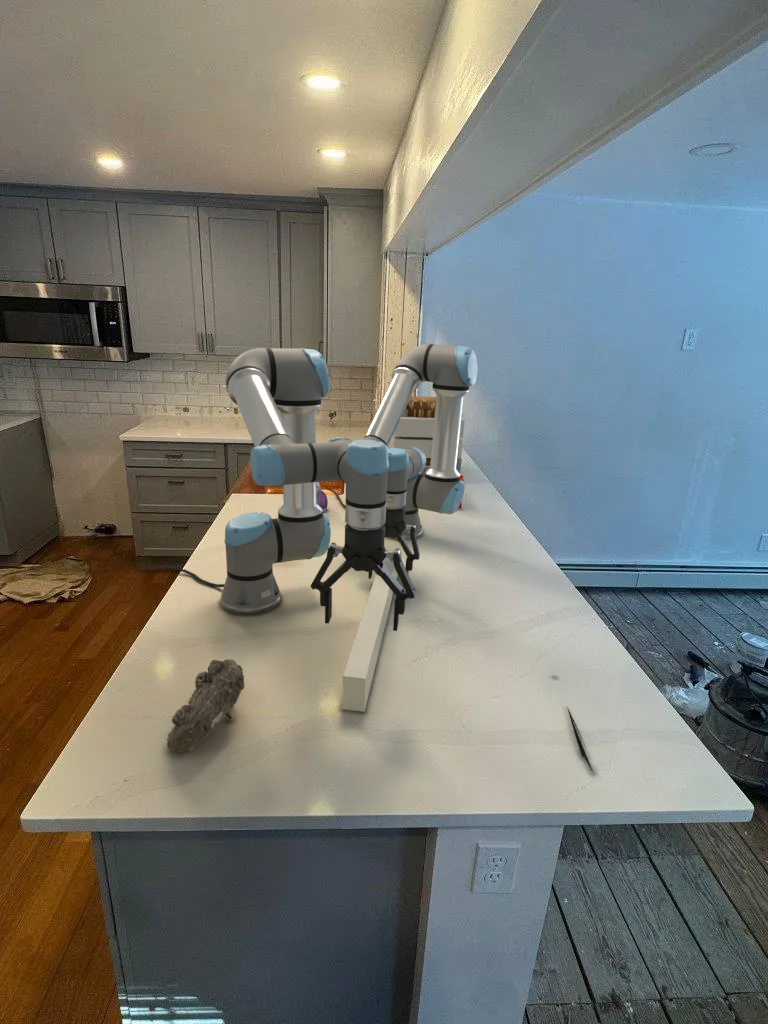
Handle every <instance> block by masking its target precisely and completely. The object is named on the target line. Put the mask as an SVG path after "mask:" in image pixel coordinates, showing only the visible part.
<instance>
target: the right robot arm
mask: <svg viewBox="0 0 768 1024" xmlns="http://www.w3.org/2000/svg"><path fill="white" fill-rule="evenodd" d="M477 378H478V359H477V356H476V353H475V351H474V350H473V348H471V347H469V346H463V345H451V344H450V345H449V344H438V343H437V344H436V343H435V344H434V343H423V344H419V345H417V346H415V347H413V348H412V349H410V350H409V351H407V353H405V354H404V355H403V356H402V357H401V358H400V359H399V361H398V362H397V363H396V365H395V366H394V369H393V371H392V373H391V379H392V380H391V381H390V384H389V386H388V388H387V390H386V392H385V394H384V396H383V399H382V401H381V402H380V404H379V407H378V409H377V411H376V412H375V415H374V416H373V419H372V420H371V423H370V425H369V427H368V428H367V431H366V433H365V435H364V437H363V439H362V440H375V441H380V442H383V443H384V444H385V445H386V446H387V448H388V461H389V468H388V479H387V495H386V519H385V524H384V526H385V539H386V538H387V539H389V540H395V541H398V542H399V545H400V546H401V548H402V551H403V552H404V554H405V556H406V558H405V569H406V571H407V573H408V574H409V572H412V571H413V568H414V567H413V566H414V561H419V560H420V556H421V553H420V548H419V544H418V540H417V539H418V538H420V537H421V536H422V535H423V525H422V524H421V518H420V515H419V510H423V511H428V512H434V513H437V514H440V515H442V514H444V515H453V514H454V513H456V512H457V510H458V509H459V508H458V507H459V505H460V503H461V501H462V502H463V497H464V494H465V489H466V487H465V482H464V481H463V482H462V481H460V480H459V479H460V475H461V474H459V473H458V471H457V470H456V464H457V454H458V444H459V435H460V425H461V418H462V417H461V415H462V416H463V403H464V398H465V397H464V396H465V395H467V394H468V393H469V392H470V387H473V386H474V385H475V384H476V382H477ZM425 382H429V383H432V386H431V387H432V390H433V391H434V393H435V395H436V396H435V397H436V407H435V418H434V429H433V440H432V451H431V463H430V466H429V467H428V468H427V469H426V470H424V469H425V467H426V466H425V465H426V457H425V454H424V453H423V451H421V450H420V449H418V448H408V449H399V448H392V447H388V445H389V443H390V440H391V438H392V436H393V434H394V432H395V430H396V428H397V426H398V423H399V421H400V419H401V417H402V415H403V413H404V411H405V408H406V406H407V404H408V402H409V400H410V398H411V396H413V394H414V391H415V390H418V389H419V388H420V386H421V383H425ZM423 470H424V474H422V471H423ZM325 489H326V490H328V491H330V492H332V493H333V494H334V495H335V496H336V498H337V500H338V502H339V503H340V505H341V506H342V507H343V508H344V509H345V503H343V501H342V500H341V498H340V496H339V494H338V493H337V492H336V491H335V490H334V489H332V488H329V487H328V486H326V487H325ZM407 541H410V542H411V547H412V549H411V548H410V546H409V544H408V542H407ZM412 550H413V552H412ZM373 572H374V571H371V572H368V578H367V579H368V580H372V577H373Z"/></svg>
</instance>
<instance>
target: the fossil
mask: <svg viewBox="0 0 768 1024" xmlns="http://www.w3.org/2000/svg"><path fill="white" fill-rule="evenodd" d="M243 670H244V669H243V667H242V665H240V664H237V662H236V661H235V660H234V659H232V658H231V659H227V658H226V659H224V660H223V661H222V660H217V659H212V660H211V661H210V663H209V665H208V666H207V671H201V672H199V673H198V674H197V675H196V676H195V680H194V684H195V685H194V687H195V689H194V690H193V693H192V694H191V697H190V698H189V700H188V704H184V705H182V706H181V707H180V709H177V710H176V711H175V713H174V715H173V716H172V718H171V723H172V724H173V727H172V730H171V731H170V732H168V734H167V738H166V741H167V742H166V745H167V749H168V750H169V751H173V752H174V753H176V754H178V753H182V752H188V751H189V752H192V751H193V750H195V748H196V747H197V746H199V744H200V743H201V742H203V741H204V740H205V739H206V738H207V737H208V736H209V735H210V734H211V733H212V732H214V730H215V729H217V727H218V726H219V724H220V722H221V721H222V720H223V719H224V718H225V716H226V717H227V719H229V720H233V717H232V715H230V714H229V710H230V709H231V708H234V706H235V704H236V703H237V702H238V699H239V697H240V695H241V693H242V691H243V690H245V689H244V688H245V675H244V671H243Z"/></svg>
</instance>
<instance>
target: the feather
mask: <svg viewBox="0 0 768 1024" xmlns="http://www.w3.org/2000/svg"><path fill="white" fill-rule="evenodd" d="M554 677H557V676H556V675H554ZM566 708H567V711H568V715H569V718H570V722H571V726H572V729H573V732H574V736H575V739H576V742H577V745H578V749H579V753H580V755H581V758H584V759H585V761H586V763H587V765H588V767H589V768H590V770H591V772H593V768H592V766H591V763H590V761H589V758H588V756H587V753H588V755H589V754H590V750H589V748H588V747H586V743H585V741H582V740H583V737H582V734H581V732H580V730H579V728H578V726H577V724H576V722H575V719H574V718H573V716H572V713H571V712H570V708H568V706H566ZM583 744H584V745H583ZM584 747H586V750H587V749H588V750H587V753H586V751H585V749H584Z"/></svg>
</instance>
